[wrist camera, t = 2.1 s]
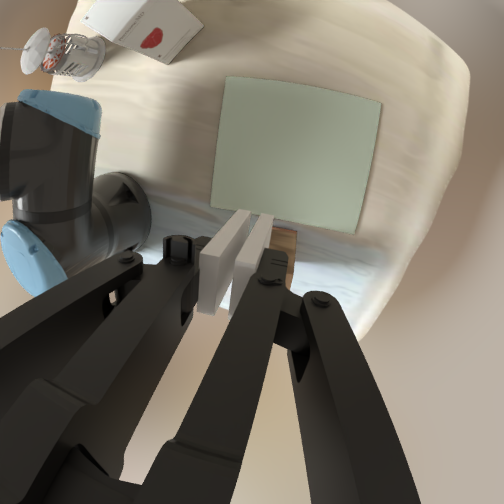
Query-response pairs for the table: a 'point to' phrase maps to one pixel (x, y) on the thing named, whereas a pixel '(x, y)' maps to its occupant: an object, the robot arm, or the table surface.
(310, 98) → the mat
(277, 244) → the walnut block
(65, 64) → the french press
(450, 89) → the table surface
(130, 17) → the supplement box
